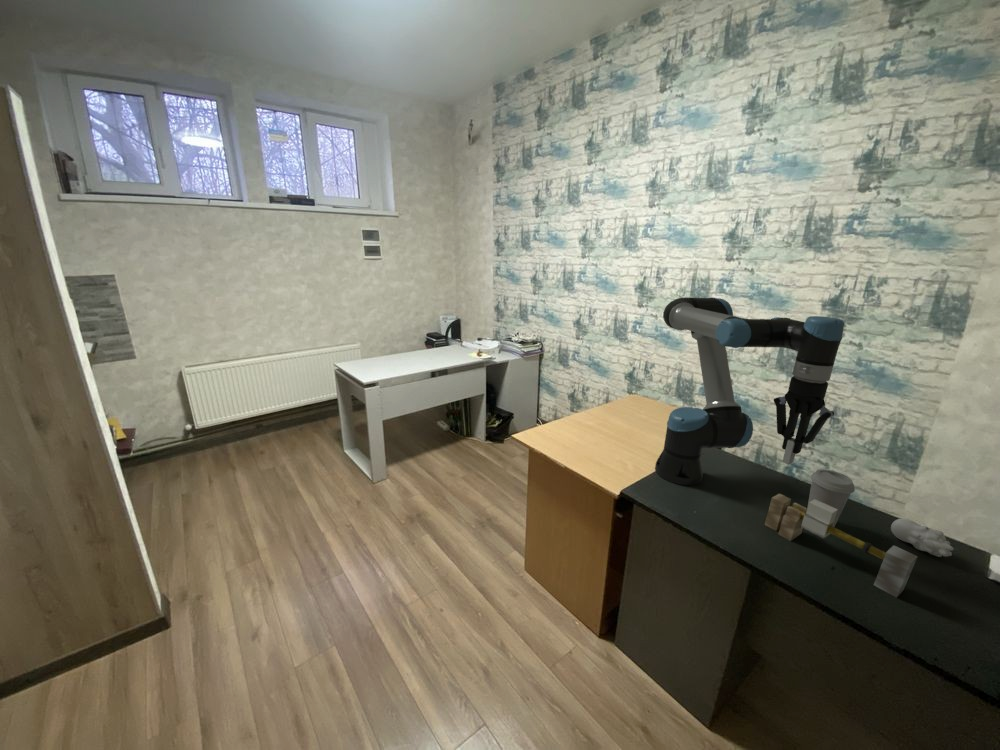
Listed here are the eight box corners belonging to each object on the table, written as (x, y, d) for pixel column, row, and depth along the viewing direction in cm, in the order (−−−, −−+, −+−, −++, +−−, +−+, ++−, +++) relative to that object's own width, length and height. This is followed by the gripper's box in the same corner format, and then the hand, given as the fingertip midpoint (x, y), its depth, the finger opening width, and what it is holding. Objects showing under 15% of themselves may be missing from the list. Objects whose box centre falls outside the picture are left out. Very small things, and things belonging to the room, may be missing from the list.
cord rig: (762, 525, 110) (770, 496, 107) (773, 519, 113) (781, 490, 110) (895, 599, 87) (909, 565, 84) (904, 588, 90) (918, 555, 87)
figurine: (902, 520, 109) (964, 547, 98) (889, 539, 108) (949, 568, 98) (896, 509, 106) (959, 535, 95) (882, 528, 106) (944, 557, 95)
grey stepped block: (800, 526, 102) (808, 502, 100) (808, 521, 104) (815, 498, 102) (823, 538, 98) (831, 513, 96) (830, 533, 100) (838, 508, 98)
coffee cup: (849, 535, 106) (865, 488, 102) (810, 530, 108) (824, 484, 104) (828, 514, 115) (842, 469, 111) (792, 509, 117) (805, 465, 113)
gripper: (774, 374, 101) (755, 454, 108) (834, 388, 90) (809, 477, 97) (788, 370, 105) (769, 448, 112) (848, 383, 94) (822, 469, 101)
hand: (787, 461), depth 104 cm, fingers closed
